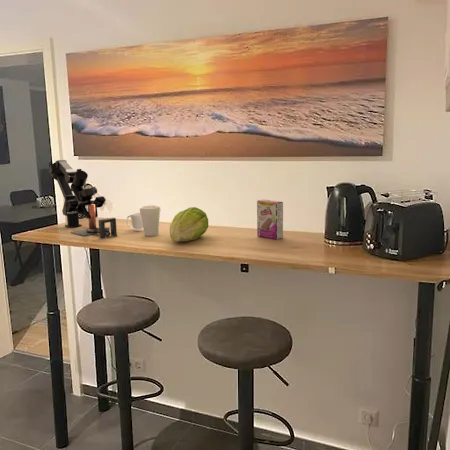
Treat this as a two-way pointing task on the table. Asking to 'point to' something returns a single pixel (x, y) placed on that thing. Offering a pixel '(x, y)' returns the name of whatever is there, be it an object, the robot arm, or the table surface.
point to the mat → (82, 232)
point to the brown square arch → (112, 225)
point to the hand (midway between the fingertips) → (93, 217)
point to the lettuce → (188, 225)
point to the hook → (94, 221)
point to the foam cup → (150, 219)
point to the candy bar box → (270, 219)
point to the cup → (136, 221)
